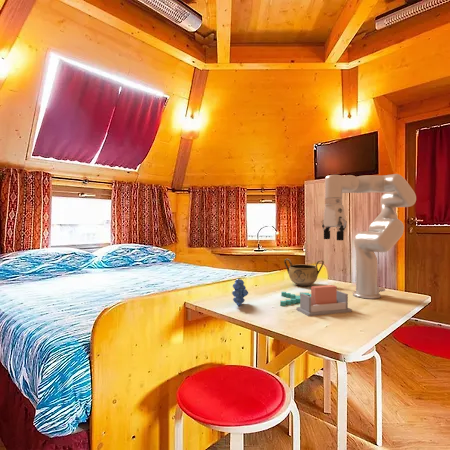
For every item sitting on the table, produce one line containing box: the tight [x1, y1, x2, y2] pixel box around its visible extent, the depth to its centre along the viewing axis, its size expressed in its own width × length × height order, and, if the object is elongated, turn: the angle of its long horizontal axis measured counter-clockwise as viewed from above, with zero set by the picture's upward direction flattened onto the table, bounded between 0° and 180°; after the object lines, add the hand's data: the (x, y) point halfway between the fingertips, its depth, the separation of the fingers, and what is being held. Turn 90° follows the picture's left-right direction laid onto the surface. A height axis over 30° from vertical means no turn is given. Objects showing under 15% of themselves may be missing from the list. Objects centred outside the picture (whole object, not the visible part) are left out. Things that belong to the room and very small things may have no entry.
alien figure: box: [280, 291, 311, 307], centre depth 145 cm, size 20×2×20 cm
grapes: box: [231, 278, 249, 307], centre depth 137 cm, size 12×7×12 cm, turn 156°
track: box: [296, 290, 353, 317], centre depth 129 cm, size 20×9×7 cm, turn 107°
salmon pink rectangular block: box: [310, 284, 338, 305], centre depth 129 cm, size 10×3×9 cm, turn 107°
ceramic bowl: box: [283, 258, 325, 287], centre depth 181 cm, size 22×17×15 cm
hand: (333, 239), depth 144 cm, fingers open, 9 cm apart
